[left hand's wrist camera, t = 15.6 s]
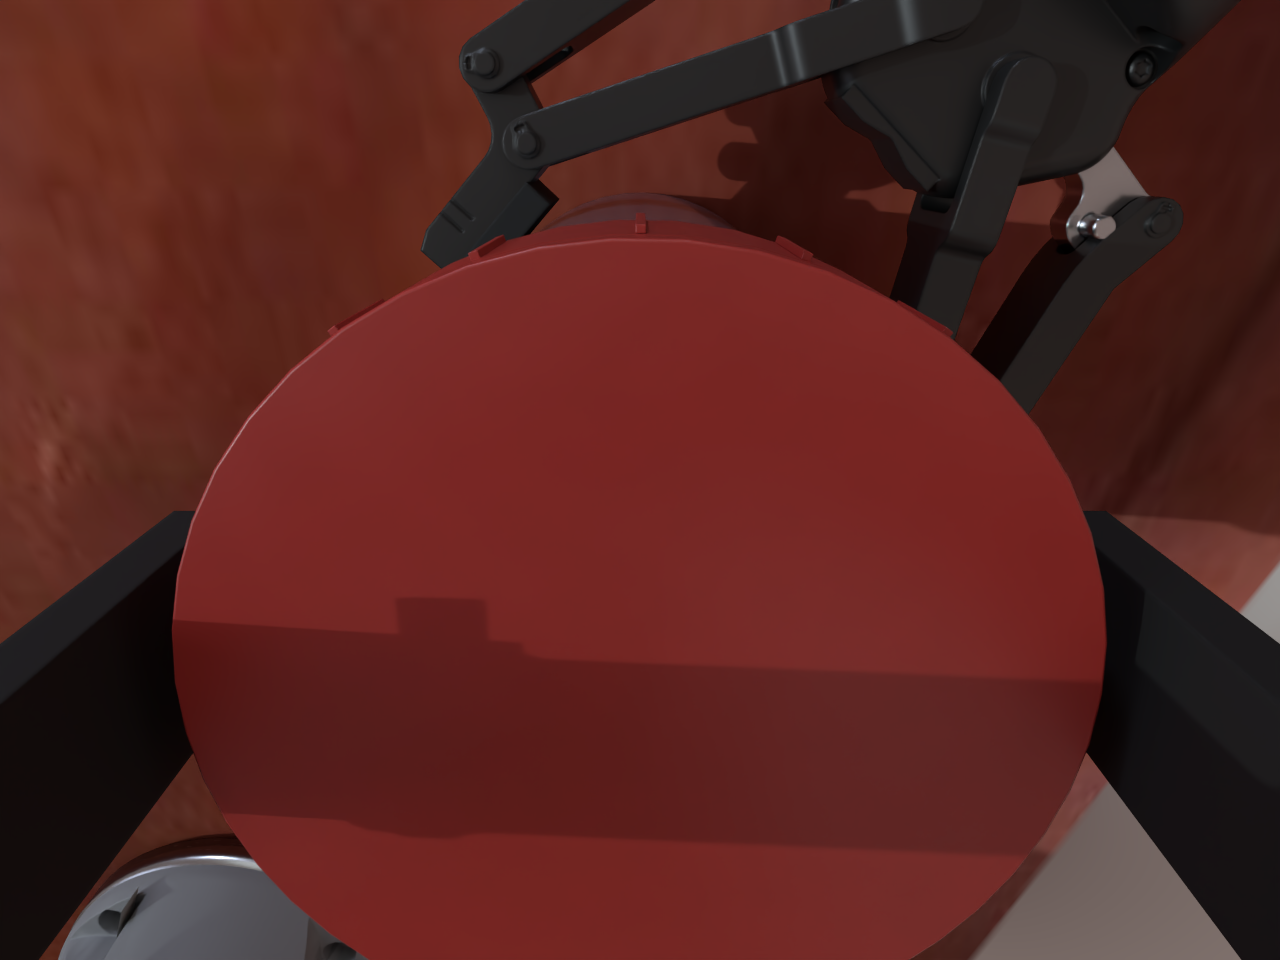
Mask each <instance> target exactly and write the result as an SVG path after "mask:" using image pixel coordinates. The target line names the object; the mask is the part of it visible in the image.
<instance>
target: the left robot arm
mask: <svg viewBox="0 0 1280 960" xmlns="http://www.w3.org/2000/svg"><path fill="white" fill-rule="evenodd" d="M1083 513H1084V515H1085V518H1086V520H1087V523H1088V525H1089V528H1090V530H1091V533H1092V537H1093V542H1094V546H1095V551H1096V555H1097V560H1098V564H1099V569H1100V573H1101V578H1102V582H1103V587H1104V599H1105V615H1106V632H1107V649H1106V659H1105V669H1104V680H1103V690H1102V697H1101V701H1100V705H1099V709H1098V712H1097V716H1096V720H1095V724H1094V728H1093V732H1092V736H1091V740H1090V744H1089V746H1088V749H1087V751H1086V752H1087V754H1088V755H1089V756H1090V758H1091V759H1092V760H1093V762H1094V763H1095V764H1096V766H1097V767H1098V768H1099V770H1100V771H1101V772H1102V774H1103V775H1104V776H1105V778H1106V779H1107V780H1108V782H1109V783H1110V784H1111V786H1112V787H1113V788H1114V790H1115V791H1116V792H1117V794H1118V795H1119V796H1120V798H1121V799H1122V800H1123V802H1124V803H1125V804H1126V806H1127V807H1128V809H1129V810H1130V811H1131V813H1132V814H1133V815H1134V817H1135V818H1136V819H1137V821H1138V822H1139V823H1140V824H1141V826H1142V827H1143V829H1144V830H1145V831H1146V832H1147V834H1148V835H1149V837H1150V838H1151V839H1152V841H1153V842H1154V843H1155V845H1156V846H1157V847H1158V849H1159V850H1160V851H1161V853H1162V854H1163V855H1164V857H1165V858H1166V859H1167V861H1168V862H1169V863H1170V865H1171V866H1172V867H1173V869H1174V870H1175V871H1176V873H1177V874H1178V875H1179V877H1180V878H1181V879H1182V881H1183V882H1184V883H1185V885H1186V886H1187V887H1188V889H1189V890H1190V891H1191V893H1192V894H1193V896H1194V897H1195V898H1196V900H1197V901H1198V902H1199V904H1200V905H1201V906H1202V908H1203V909H1204V910H1205V912H1206V913H1207V914H1208V916H1209V917H1210V918H1211V920H1212V921H1213V922H1214V924H1215V925H1216V926H1217V928H1218V929H1219V930H1220V932H1221V933H1222V934H1223V936H1224V937H1225V938H1226V940H1227V941H1228V942H1229V944H1230V945H1231V946H1232V948H1233V949H1234V950H1235V952H1236V953H1237V954H1238V956H1239V957H1240V958H1241V960H1280V644H1279V643H1278V642H1276V641H1275V640H1274V639H1272V638H1271V637H1270V636H1269V635H1267V634H1266V633H1265V632H1263V631H1262V630H1261V629H1259V628H1258V627H1257V626H1256V625H1254V624H1253V623H1252V622H1250V621H1249V620H1248V619H1246V618H1245V617H1244V616H1243V615H1241V614H1240V613H1239V612H1237V611H1236V610H1235V609H1233V608H1232V607H1231V606H1229V605H1228V604H1227V603H1226V602H1224V601H1223V600H1222V599H1220V598H1219V597H1218V596H1216V595H1215V594H1214V593H1212V592H1211V591H1210V590H1209V589H1207V588H1206V587H1205V586H1203V585H1202V584H1201V583H1199V582H1198V581H1197V580H1195V579H1194V578H1193V577H1192V576H1190V575H1189V574H1188V573H1186V572H1185V571H1184V570H1182V569H1181V568H1180V567H1178V566H1177V565H1176V564H1175V563H1173V562H1172V561H1171V560H1169V559H1168V558H1167V557H1165V556H1164V555H1163V554H1161V553H1160V552H1159V551H1158V550H1156V549H1155V548H1154V547H1152V546H1151V545H1150V544H1148V543H1147V542H1146V541H1144V540H1143V539H1142V538H1141V537H1139V536H1138V535H1137V534H1135V533H1134V532H1133V531H1131V530H1130V529H1129V528H1127V527H1126V526H1125V525H1124V524H1122V523H1121V522H1120V521H1118V520H1117V519H1116V518H1114V517H1113V516H1112V515H1110V514H1109V513H1108V512H1107V511H1083ZM194 514H195V511H173V512H172V513H171V514H170V515H168V516H167V517H166V518H164V519H163V520H162V521H160V522H159V523H158V524H156V525H155V526H154V527H153V528H151V529H150V530H149V531H147V532H146V533H145V534H143V535H142V536H141V537H139V538H138V539H137V540H136V541H134V542H133V543H132V544H130V545H129V546H128V547H126V548H125V549H124V550H122V551H121V552H120V553H119V554H117V555H116V556H115V557H113V558H112V559H111V560H109V561H108V562H107V563H105V564H104V565H103V566H102V567H100V568H99V569H98V570H96V571H95V572H94V573H92V574H91V575H90V576H88V577H87V578H86V579H85V580H83V581H82V582H81V583H79V584H78V585H77V586H75V587H74V588H73V589H71V590H70V591H69V592H68V593H66V594H65V595H64V596H62V597H61V598H60V599H58V600H57V601H56V602H54V603H53V604H52V605H51V606H49V607H48V608H47V609H45V610H44V611H43V612H41V613H40V614H39V615H37V616H36V617H35V618H34V619H32V620H31V621H30V622H28V623H27V624H26V625H24V626H23V627H22V628H21V629H19V630H18V631H17V632H15V633H14V634H13V635H11V636H10V637H9V638H7V639H6V640H5V641H4V642H2V643H1V644H0V960H39V958H40V957H41V956H42V954H43V953H44V952H45V950H46V949H47V948H48V946H49V945H50V944H51V942H52V941H53V940H54V938H55V937H56V936H57V934H58V933H59V932H60V930H61V929H62V928H63V926H64V925H65V924H66V922H67V921H68V920H69V918H70V917H71V916H72V914H73V913H74V912H75V910H76V909H77V908H78V906H79V905H80V904H81V902H82V901H83V900H84V898H85V897H86V896H87V894H88V893H89V892H90V890H91V889H92V887H93V886H94V885H95V883H96V882H97V881H98V879H99V878H100V877H101V875H102V874H103V873H104V871H105V870H106V869H107V867H108V866H109V865H110V863H111V862H112V861H113V859H114V858H115V857H116V855H117V854H118V853H119V851H120V850H121V849H122V847H123V846H124V845H125V843H126V842H127V841H128V839H129V838H130V837H131V835H132V834H133V833H134V831H135V830H136V829H137V827H138V826H139V825H140V823H141V822H142V821H143V819H144V818H145V817H146V815H147V814H148V813H149V811H150V810H151V809H152V807H153V806H154V804H155V803H156V802H157V800H158V799H159V798H160V796H161V795H162V794H163V792H164V791H165V790H166V788H167V787H168V786H169V784H170V783H171V782H172V780H173V779H174V778H175V776H176V775H177V774H178V772H179V771H180V770H181V768H182V767H183V766H184V764H185V763H186V762H187V760H188V759H189V758H190V756H191V755H192V754H193V750H192V748H191V745H190V742H189V740H188V737H187V734H186V731H185V726H184V722H183V717H182V712H181V708H180V703H179V699H178V694H177V689H176V685H175V675H174V658H173V641H172V623H173V612H174V602H175V592H176V582H177V574H178V570H179V566H180V562H181V558H182V555H183V551H184V547H185V543H186V540H187V536H188V532H189V528H190V524H191V521H192V518H193V516H194ZM58 960H368V959H367V958H365V957H364V956H363V955H361V954H360V953H358V952H357V951H355V950H354V949H352V948H351V947H349V946H348V945H346V944H345V943H343V942H342V941H340V940H339V939H337V938H336V937H334V936H333V935H331V934H330V933H328V932H327V931H326V930H325V929H324V928H323V927H321V926H320V925H319V924H318V923H317V922H315V921H314V920H313V919H312V918H311V917H310V916H308V915H307V914H306V913H305V912H304V911H302V910H301V909H300V908H299V907H298V906H297V905H295V904H294V903H293V902H292V901H291V900H290V899H289V898H288V897H287V896H286V895H285V894H284V893H283V892H282V891H281V890H280V889H279V887H278V886H277V885H276V884H275V883H274V882H273V881H272V880H271V879H270V878H269V877H268V876H267V875H266V874H265V872H264V871H263V870H262V869H261V868H260V867H259V866H258V865H257V864H256V862H255V861H254V860H253V858H252V857H251V856H250V854H249V853H248V851H247V850H246V849H245V847H244V846H243V845H242V843H241V842H240V840H239V839H235V838H208V839H197V840H189V841H183V842H178V843H174V844H170V845H166V846H163V847H160V848H156V849H154V850H152V851H149V852H147V853H144V854H142V855H140V856H138V857H136V858H135V859H133V860H131V861H129V862H128V863H126V864H125V865H123V866H122V867H120V868H119V869H118V870H117V871H116V872H114V873H113V874H112V875H111V876H110V877H109V878H108V879H107V880H106V881H105V882H104V883H103V885H102V886H101V887H100V888H99V890H98V891H97V892H96V894H95V895H94V896H93V898H92V899H91V900H90V902H89V903H88V904H87V906H86V907H85V909H84V910H83V911H82V913H81V914H80V916H79V917H78V919H77V920H76V922H75V923H74V925H73V927H72V929H71V931H70V933H69V936H68V938H67V939H66V941H65V944H64V946H63V948H62V950H61V953H60V956H59V959H58Z"/></svg>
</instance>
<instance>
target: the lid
mask: <svg viewBox="0 0 1280 960" xmlns="http://www.w3.org/2000/svg"><path fill="white" fill-rule="evenodd" d="M468 255H469V256H468V257H465V258H463V259H460V260H458V261H456V262H453V263H451V264H449V265H447V266H446V267H444V268H442V269H440V270H439V271H437V272H435V273H433V274H432V275H430V276H428V277H427V278H425V279H423V280H421V281H420V282H418V283H416V284H414V285H413V286H411V287H409V288H407V289H406V290H404V291H402V292H400V293H399V294H397V295H395V296H394V297H392V298H390V299H389V300H387V301H384V300H383V299H381V300H379V301H377V302H376V303H374V304H372V305H370V306H368V307H367V308H365V309H363V310H361V311H359V312H358V313H356V314H354V315H352V316H350V317H349V318H347V319H345V320H343V321H342V322H340V323H338V324H336V325H334V326H333V327H332V328H331V329H329V330H328V332H329V334H330V335H331V337H330V338H328V339H327V340H326V341H325V342H324V343H322V344H321V345H320V346H319V347H317V348H316V349H315V350H314V351H313V352H311V353H310V354H309V355H308V356H306V357H305V358H304V359H303V360H302V361H300V362H299V363H298V364H297V365H295V366H294V367H293V368H292V369H291V370H290V371H289V372H288V373H287V374H286V375H285V376H284V377H283V378H282V380H281V381H280V382H279V383H278V384H277V385H276V386H275V387H274V388H273V390H272V391H271V392H270V393H269V394H268V395H267V396H266V397H265V398H264V400H263V401H262V402H261V403H260V404H259V405H258V406H257V407H256V408H255V410H254V411H253V412H252V413H251V414H250V415H249V416H248V418H247V419H246V421H245V422H244V424H243V425H242V427H241V428H240V430H239V431H238V433H237V435H236V436H235V438H234V439H233V441H232V442H231V444H230V445H229V447H228V448H227V450H226V451H225V453H224V454H223V456H222V458H221V459H220V461H219V462H218V464H217V465H216V467H215V469H214V471H213V473H212V475H211V478H210V480H209V482H208V484H207V487H206V489H205V491H204V493H203V496H202V498H201V500H200V502H199V505H198V507H197V509H196V511H195V514H194V516H193V518H192V521H191V524H190V528H189V532H188V536H187V540H186V543H185V547H184V551H183V555H182V558H181V562H180V566H179V570H178V574H177V582H176V592H175V602H174V612H173V623H172V641H173V658H174V675H175V685H176V689H177V694H178V699H179V703H180V708H181V712H182V717H183V722H184V726H185V731H186V734H187V737H188V740H189V742H190V745H191V748H192V750H193V753H194V756H195V758H196V761H197V764H198V766H199V769H200V772H201V774H202V777H203V780H204V782H205V783H206V785H207V787H208V789H209V791H210V793H211V794H212V796H213V798H214V800H215V802H216V804H217V805H218V807H219V809H220V811H221V813H222V815H223V816H224V818H225V820H226V822H227V824H228V825H229V827H230V828H231V829H232V831H233V832H234V834H235V835H236V836H237V838H238V839H239V840H240V842H241V843H242V845H243V846H244V847H245V849H246V850H247V851H248V853H249V854H250V856H251V857H252V858H253V860H254V861H255V862H256V864H257V865H258V866H259V867H260V868H261V869H262V870H263V871H264V872H265V874H266V875H267V876H268V877H269V878H270V879H271V880H272V881H273V882H274V883H275V884H276V885H277V886H278V887H279V889H280V890H281V891H282V892H283V893H284V894H285V895H286V896H287V897H288V898H289V899H290V900H291V901H292V902H293V903H294V904H295V905H297V906H298V907H299V908H300V909H301V910H302V911H304V912H305V913H306V914H307V915H308V916H310V917H311V918H312V919H313V920H314V921H315V922H317V923H318V924H319V925H320V926H321V927H323V928H324V929H325V930H326V931H327V932H328V933H330V934H331V935H333V936H334V937H336V938H337V939H339V940H340V941H342V942H343V943H345V944H346V945H348V946H349V947H351V948H352V949H354V950H355V951H357V952H358V953H360V954H361V955H363V956H364V957H365V958H367V959H368V960H910V959H911V958H913V957H915V956H916V955H918V954H919V953H921V952H922V951H924V950H926V949H927V948H929V947H930V946H932V945H933V944H935V943H937V942H938V941H940V940H941V939H942V938H944V937H945V936H946V935H947V934H949V933H950V932H951V931H952V930H954V929H955V928H956V927H957V926H959V925H960V924H961V923H962V922H964V921H965V920H966V919H967V918H969V917H970V916H971V915H972V914H974V913H975V912H976V911H977V910H979V909H980V908H981V907H982V906H983V905H984V904H985V903H986V902H987V901H988V900H989V899H990V898H991V897H992V896H993V895H994V894H995V893H996V892H997V891H998V889H999V888H1000V887H1001V886H1002V885H1003V884H1004V883H1005V882H1006V881H1007V880H1008V879H1009V878H1010V877H1011V876H1012V875H1013V874H1014V873H1015V872H1016V871H1017V869H1018V868H1019V867H1020V866H1021V864H1022V863H1023V862H1024V860H1025V859H1026V858H1027V856H1028V855H1029V854H1030V853H1031V851H1032V850H1033V849H1034V847H1035V846H1036V845H1037V844H1038V842H1039V841H1040V840H1041V838H1042V837H1043V836H1044V835H1045V833H1046V831H1047V830H1048V828H1049V826H1050V824H1051V823H1052V821H1053V819H1054V818H1055V816H1056V814H1057V812H1058V811H1059V809H1060V807H1061V806H1062V804H1063V802H1064V800H1065V799H1066V797H1067V795H1068V794H1069V792H1070V790H1071V788H1072V785H1073V783H1074V780H1075V778H1076V775H1077V773H1078V771H1079V768H1080V766H1081V763H1082V761H1083V759H1084V756H1085V754H1086V751H1087V749H1088V746H1089V744H1090V740H1091V736H1092V732H1093V728H1094V724H1095V720H1096V716H1097V712H1098V709H1099V705H1100V701H1101V697H1102V690H1103V680H1104V669H1105V659H1106V649H1107V632H1106V615H1105V599H1104V587H1103V582H1102V578H1101V573H1100V569H1099V564H1098V560H1097V555H1096V551H1095V546H1094V542H1093V537H1092V533H1091V530H1090V528H1089V525H1088V523H1087V520H1086V518H1085V515H1084V513H1083V510H1082V508H1081V505H1080V503H1079V500H1078V498H1077V495H1076V493H1075V490H1074V488H1073V485H1072V483H1071V480H1070V479H1069V477H1068V475H1067V474H1066V472H1065V470H1064V469H1063V467H1062V465H1061V464H1060V462H1059V460H1058V459H1057V457H1056V455H1055V454H1054V452H1053V450H1052V449H1051V447H1050V445H1049V444H1048V442H1047V440H1046V439H1045V437H1044V435H1043V434H1042V432H1041V430H1040V429H1039V427H1038V426H1037V425H1036V424H1035V423H1034V421H1033V420H1032V419H1031V418H1030V417H1029V415H1028V414H1027V413H1026V412H1025V411H1024V409H1023V408H1022V407H1021V406H1020V405H1019V403H1018V402H1017V401H1016V400H1015V399H1014V397H1013V396H1012V395H1011V394H1010V393H1009V391H1008V390H1007V389H1006V388H1005V387H1004V385H1003V384H1002V383H1001V382H1000V381H999V380H998V379H997V378H996V377H995V376H994V375H993V374H991V373H990V372H989V371H988V370H987V369H986V368H985V367H983V366H982V365H981V364H980V363H979V362H978V361H977V360H976V359H974V358H973V357H972V356H971V355H970V354H969V353H968V352H966V351H965V350H964V349H963V348H962V347H961V346H960V345H958V344H957V343H956V342H955V341H954V340H953V339H952V338H951V337H950V336H951V335H952V334H953V332H952V331H951V330H950V329H948V328H947V327H945V326H944V325H942V324H940V323H938V322H937V321H935V320H933V319H931V318H929V317H928V316H926V315H924V314H922V313H921V312H919V311H917V310H915V309H913V308H912V307H910V306H908V305H906V304H905V303H903V302H901V301H899V300H898V301H897V302H895V301H893V300H892V299H890V298H888V297H887V296H885V295H883V294H881V293H880V292H878V291H876V290H874V289H873V288H871V287H869V286H867V285H866V284H864V283H862V282H860V281H859V280H857V279H855V278H854V277H852V276H850V275H848V274H847V273H845V272H843V271H841V270H839V269H837V268H835V267H833V266H831V265H829V264H826V263H824V262H822V261H820V260H818V259H816V258H813V254H812V253H811V252H809V251H807V250H805V249H804V248H802V247H800V246H798V245H797V244H795V243H793V242H791V241H790V240H788V239H786V238H784V237H781V236H777V238H776V241H775V242H773V241H770V240H766V239H763V238H760V237H756V236H753V235H750V234H746V233H743V232H740V231H736V230H733V229H726V228H720V227H713V226H707V225H700V224H694V223H687V222H681V221H661V220H646V217H645V213H636V220H611V221H603V222H595V223H586V224H578V225H570V226H562V227H556V228H553V229H549V230H545V231H541V232H538V233H534V234H530V235H526V236H522V237H519V238H515V239H511V240H507V241H506V240H505V237H504V235H501V236H498V237H496V238H494V239H492V240H490V241H489V242H487V243H485V244H483V245H482V246H480V247H478V248H476V249H475V250H473V251H471V252H469V253H468Z"/></svg>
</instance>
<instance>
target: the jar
mask: <svg viewBox="0 0 1280 960" xmlns="http://www.w3.org/2000/svg"><path fill="white" fill-rule="evenodd" d="M636 213H645V217H646V220H661V221H681V222H687V223H694V224H700V225H707V226H713V227H720V228H726V229H733V230H736V231H739V230H737V229H736V228H735V227H733V226H732V225H731V224H729V223H728V222H727V221H725V220H724V219H723V218H722V217H720V216H718V215H716V214H715V213H713V212H711V211H709V210H708V209H706V208H704V207H702V206H699V205H697V204H694V203H692V202H689V201H687V200H684V199H680V198H676V197H672V196H668V195H662V194H653V193H624V194H618V195H612V196H607V197H603V198H599V199H596V200H593V201H590V202H587V203H584V204H582V205H580V206H578V207H576V208H574V209H572V210H570V211H568V212H566V213H565V214H563V215H562V216H560V217H559V218H557V219H556V220H554V221H553V222H551V223H550V224H548V225H547V226H546V227H544V228H543V229H542V230H540V231H539V232H541V231H545V230H549V229H553V228H556V227H562V226H570V225H578V224H586V223H595V222H603V221H611V220H636Z"/></svg>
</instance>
